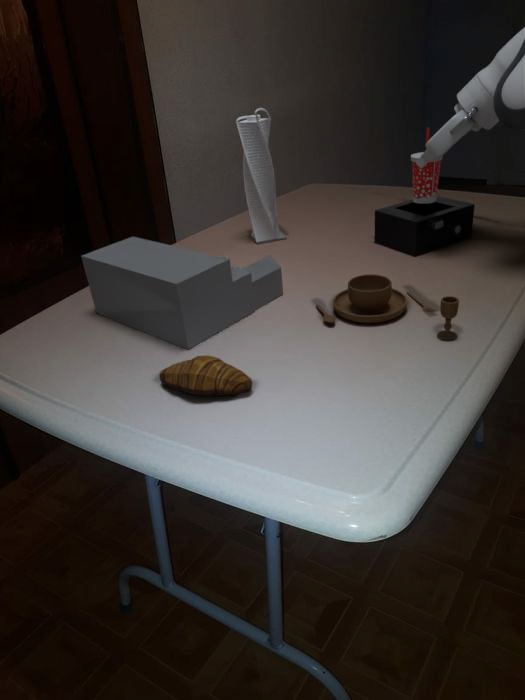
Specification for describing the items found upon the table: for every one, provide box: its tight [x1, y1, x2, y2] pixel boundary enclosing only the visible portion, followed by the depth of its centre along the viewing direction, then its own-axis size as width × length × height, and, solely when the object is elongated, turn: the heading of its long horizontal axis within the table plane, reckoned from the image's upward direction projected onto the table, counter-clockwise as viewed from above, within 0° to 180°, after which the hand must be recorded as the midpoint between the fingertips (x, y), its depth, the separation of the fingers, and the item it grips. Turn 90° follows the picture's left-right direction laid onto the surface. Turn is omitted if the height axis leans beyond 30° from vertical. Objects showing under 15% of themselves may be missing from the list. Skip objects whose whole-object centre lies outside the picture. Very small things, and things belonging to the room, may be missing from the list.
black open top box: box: [374, 195, 476, 258], centre depth 115 cm, size 16×13×7 cm
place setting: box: [315, 273, 460, 342], centre depth 87 cm, size 18×20×6 cm
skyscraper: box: [235, 107, 287, 245], centre depth 121 cm, size 8×8×28 cm
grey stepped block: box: [80, 236, 284, 350], centre depth 97 cm, size 25×23×11 cm
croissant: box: [159, 354, 253, 396], centre depth 74 cm, size 14×7×5 cm, turn 71°
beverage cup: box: [410, 126, 444, 204], centre depth 110 cm, size 6×6×14 cm
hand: (423, 160), depth 110 cm, fingers closed on beverage cup, 6 cm apart
